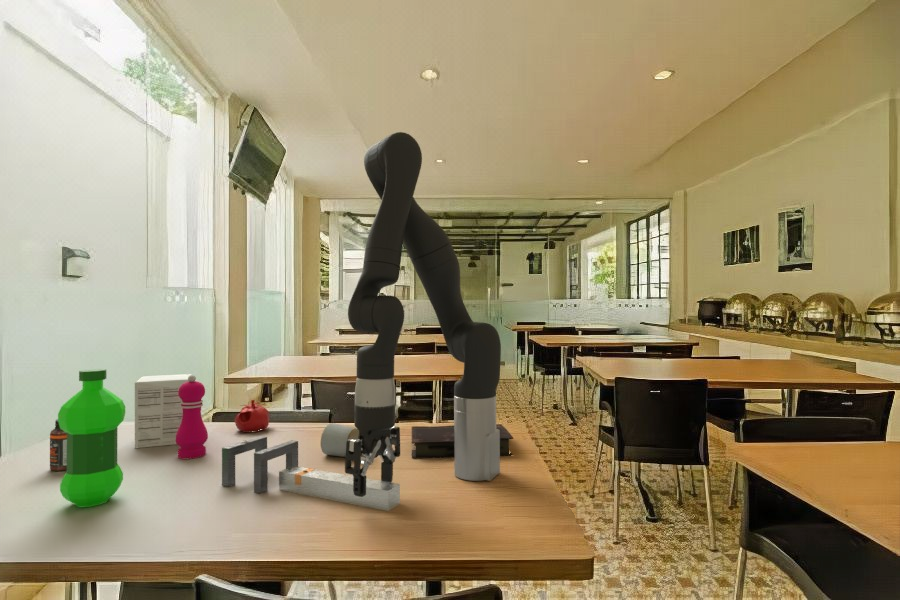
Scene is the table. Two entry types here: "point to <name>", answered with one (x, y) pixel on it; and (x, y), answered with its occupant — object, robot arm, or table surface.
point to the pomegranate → (252, 418)
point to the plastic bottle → (91, 441)
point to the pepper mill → (191, 421)
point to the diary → (446, 441)
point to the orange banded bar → (339, 487)
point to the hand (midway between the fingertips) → (373, 488)
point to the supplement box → (158, 409)
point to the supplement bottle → (58, 449)
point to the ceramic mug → (337, 439)
